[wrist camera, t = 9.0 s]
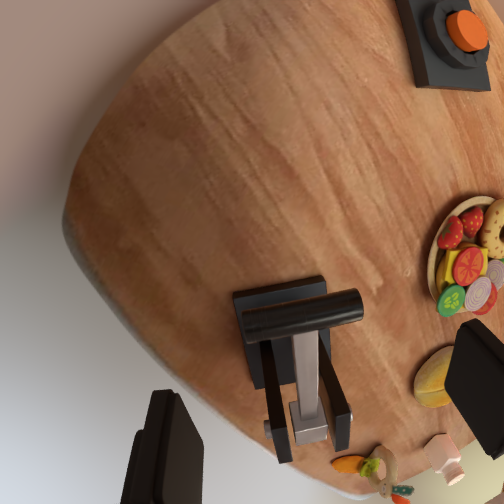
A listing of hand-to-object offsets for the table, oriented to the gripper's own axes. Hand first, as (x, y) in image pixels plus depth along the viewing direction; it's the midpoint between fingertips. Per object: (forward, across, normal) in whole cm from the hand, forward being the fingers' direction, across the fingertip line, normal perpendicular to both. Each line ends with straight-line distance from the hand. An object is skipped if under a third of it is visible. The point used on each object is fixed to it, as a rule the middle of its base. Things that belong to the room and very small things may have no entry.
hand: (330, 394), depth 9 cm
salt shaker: (+18, -23, +42) cm, 51 cm away
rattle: (+18, -9, +37) cm, 42 cm away
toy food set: (+18, -21, +7) cm, 29 cm away
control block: (+18, -19, -15) cm, 31 cm away
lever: (+7, 0, +5) cm, 9 cm away
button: (+15, -19, -15) cm, 29 cm away
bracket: (+18, 0, +11) cm, 21 cm away
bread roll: (+18, -19, +23) cm, 35 cm away
